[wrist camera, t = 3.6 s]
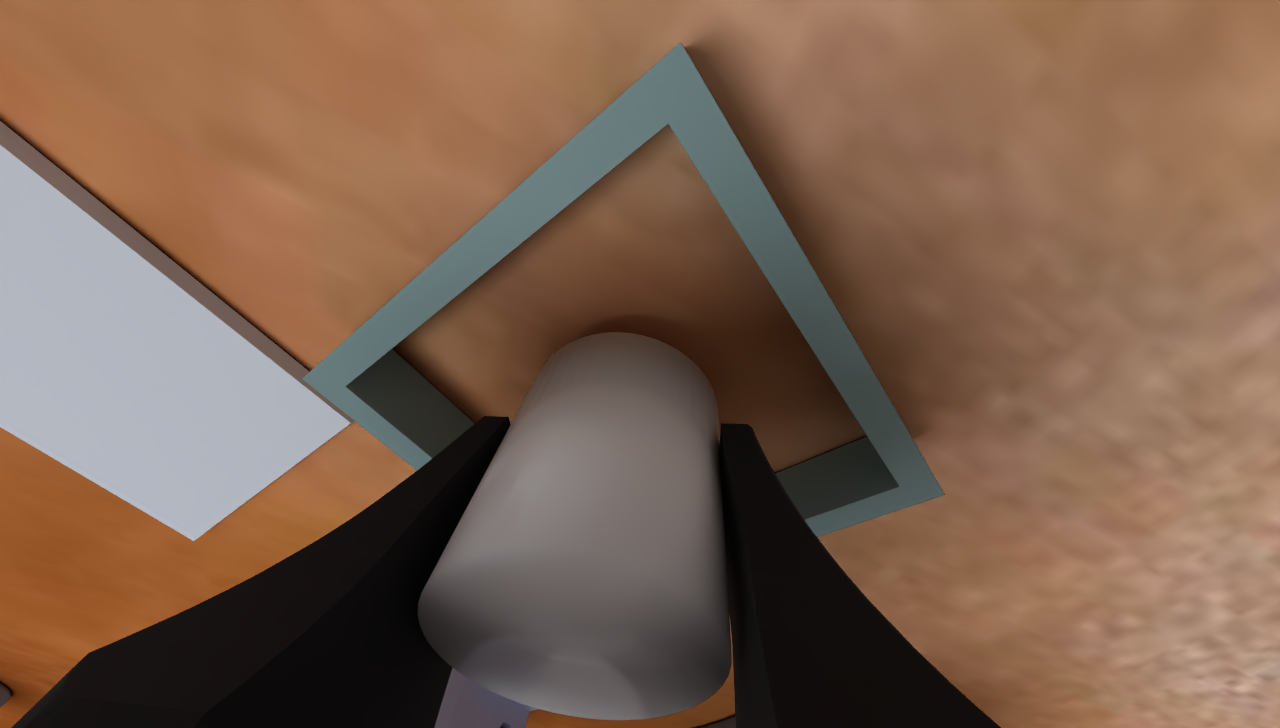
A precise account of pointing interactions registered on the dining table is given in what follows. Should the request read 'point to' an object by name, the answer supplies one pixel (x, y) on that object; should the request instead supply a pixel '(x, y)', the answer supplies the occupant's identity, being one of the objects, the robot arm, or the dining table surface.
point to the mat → (137, 359)
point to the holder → (677, 95)
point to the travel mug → (4, 694)
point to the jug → (594, 542)
